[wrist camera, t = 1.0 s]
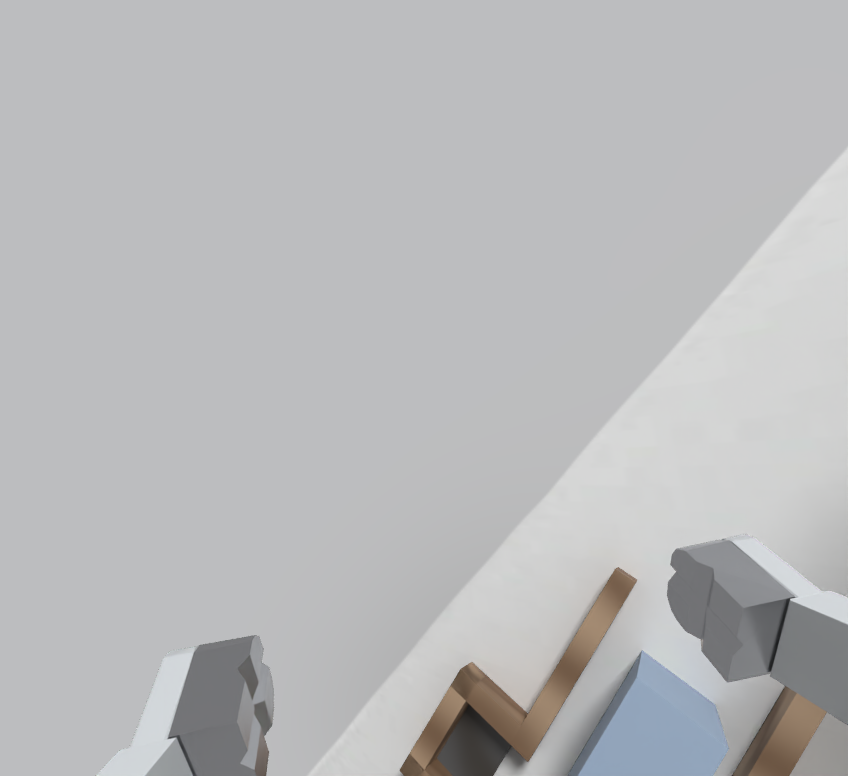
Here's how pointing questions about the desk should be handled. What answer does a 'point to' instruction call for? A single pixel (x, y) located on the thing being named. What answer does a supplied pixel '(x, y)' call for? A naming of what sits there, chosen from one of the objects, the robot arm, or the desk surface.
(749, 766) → the trap lane
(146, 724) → the robot arm
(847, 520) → the desk surface
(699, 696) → the slate block
